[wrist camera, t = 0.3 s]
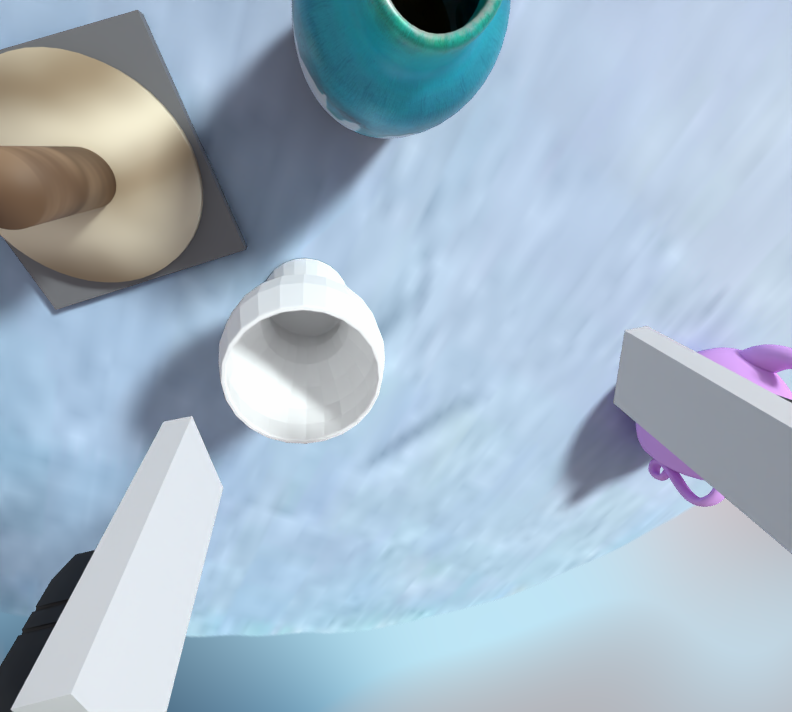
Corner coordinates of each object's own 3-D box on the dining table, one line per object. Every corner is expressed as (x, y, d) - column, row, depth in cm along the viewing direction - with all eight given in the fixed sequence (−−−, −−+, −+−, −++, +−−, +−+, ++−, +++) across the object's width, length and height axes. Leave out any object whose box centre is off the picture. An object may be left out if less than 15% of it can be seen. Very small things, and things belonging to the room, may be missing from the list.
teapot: (688, 284, 45) (826, 334, 33) (778, 322, 50) (928, 377, 38) (585, 443, 53) (666, 530, 41) (671, 462, 58) (766, 545, 46)
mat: (-97, 84, 27) (-111, 81, 26) (143, 14, 27) (137, 9, 26) (62, 305, 34) (55, 309, 34) (247, 247, 35) (245, 249, 34)
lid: (-96, 88, 26) (-308, 57, 17) (134, 21, 27) (45, -43, 18) (58, 302, 33) (-36, 358, 24) (236, 245, 34) (210, 280, 25)
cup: (327, 369, 42) (335, 472, 28) (225, 319, 37) (178, 412, 24) (385, 281, 39) (424, 350, 25) (281, 216, 34) (263, 258, 21)
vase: (371, 170, 34) (431, 191, 17) (265, 56, 30) (206, -67, 13) (465, 64, 32) (637, -29, 15) (367, -77, 27) (457, -435, 11)
